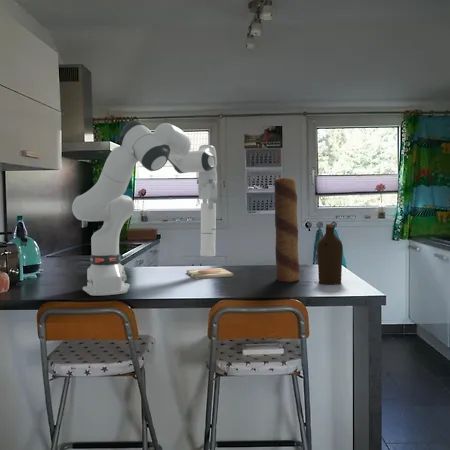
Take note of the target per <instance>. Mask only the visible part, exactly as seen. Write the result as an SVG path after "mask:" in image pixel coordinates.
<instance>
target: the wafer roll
mask: <svg viewBox="0 0 450 450" xmlns="http://www.w3.org/2000/svg"><path fill="white" fill-rule="evenodd" d="M274 225H275V226H274V227H275V248H274V249H275V266H276V267H275V268H276V280H277V281H278V282H288V283H292V282H297V281H298V280H300V263H299V262H300V261H299V228H298V194H297V181H296V179H295V178H294V177H280V178H278V177H277V178H275V181H274Z"/></svg>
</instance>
